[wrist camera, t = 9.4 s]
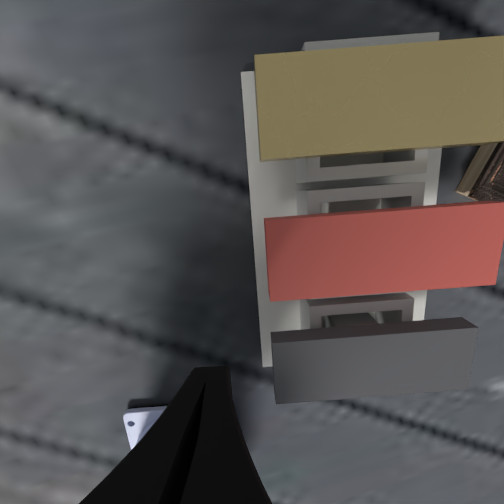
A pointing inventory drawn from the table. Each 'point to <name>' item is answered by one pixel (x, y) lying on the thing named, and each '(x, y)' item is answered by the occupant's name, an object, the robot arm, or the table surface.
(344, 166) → the panel
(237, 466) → the robot arm
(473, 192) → the hardcover book
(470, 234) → the red plug
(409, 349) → the grey rectangular block
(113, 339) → the table surface
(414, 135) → the brass plug
